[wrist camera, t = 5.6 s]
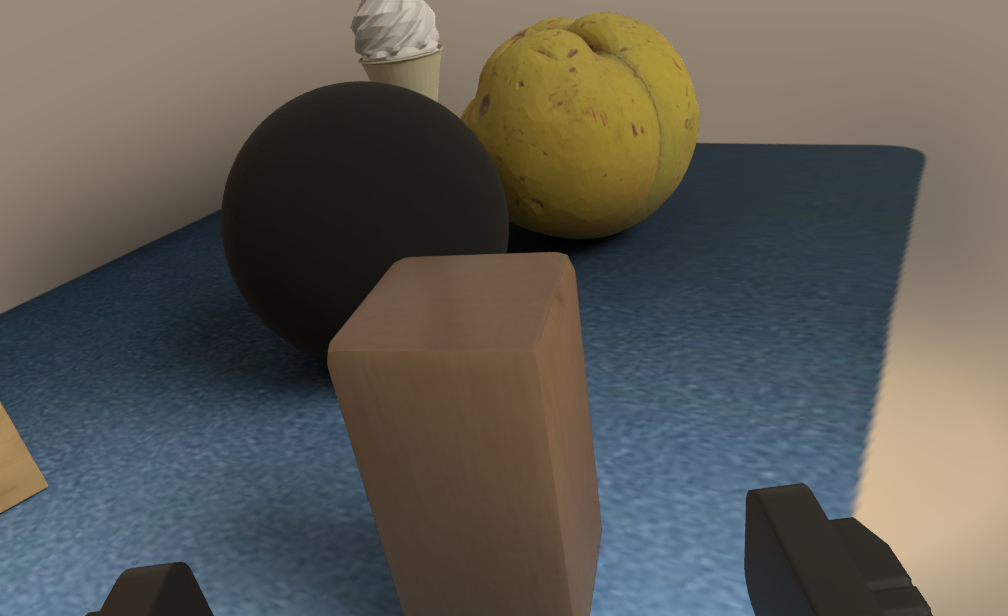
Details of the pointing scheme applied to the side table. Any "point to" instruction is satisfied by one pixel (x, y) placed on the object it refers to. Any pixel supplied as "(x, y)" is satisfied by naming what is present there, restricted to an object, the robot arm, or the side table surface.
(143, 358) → the side table surface
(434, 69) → the ice cream cone
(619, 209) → the fruit
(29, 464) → the stand
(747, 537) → the robot arm
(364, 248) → the decorative ball
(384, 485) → the wooden block
